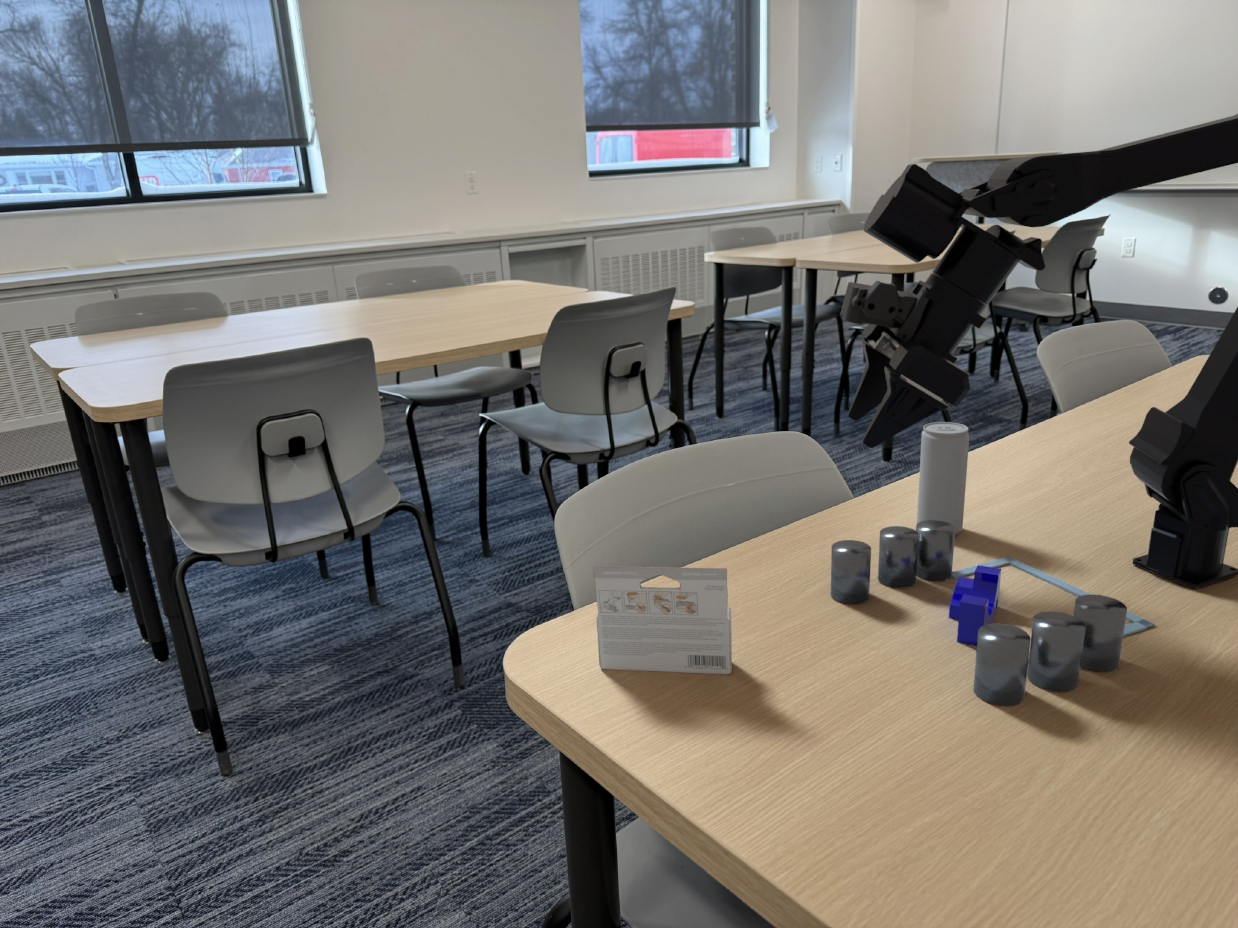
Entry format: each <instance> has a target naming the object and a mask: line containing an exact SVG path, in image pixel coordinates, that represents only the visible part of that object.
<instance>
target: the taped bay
mask: <svg viewBox="0 0 1238 928" xmlns="http://www.w3.org/2000/svg"><path fill="white" fill-rule="evenodd" d="M978 565H981V566H987V567H993V568H999V567H1003V566H1007V565H1011V566H1013V567H1015V568H1017V569H1019V570H1021V571H1022V572H1023V571H1024V572H1026V573H1028V574H1030V575H1032V576H1034V577H1036V578H1039V579H1040V580H1043V581H1044V582H1047V583H1048V584H1051V585H1053V586H1055V587H1056V588H1057V587H1058V588H1059V589H1062V591H1066V592H1068V593H1069V594H1072V595H1074V596H1076V597H1077V598H1078V597H1079V596H1083V595H1092V594H1091V593H1089V592H1087V591H1085V590H1082V589H1081V588H1078V587H1076V586H1074V585H1072V584H1070V583H1067V582H1065V581H1063V580H1061V579H1059V578H1056V577H1055V576H1052V575H1050V574H1048V573H1046V572H1044V571H1042V570H1040V569H1037V568H1035V567H1033V566H1031V565H1028V564H1026V563H1024V562H1022V561H1021V560H1018V559H1016V558H1013V557H1011V556H1007V557H1006V556H1005V557H1002V558H999V559H995V560H991V561H988V562H983V563H980V564H977V565H974V566H973V565H972V566H970V567H965V568H962V569H958V570H954V571H952V575H951V578H953V579H959V577H963V578H964V577H966V576H969V575H974V574H975V570H976V568H977V566H978ZM1126 621H1128V622H1131V623H1128V624H1125V627H1124V634H1123V637H1126V636H1129V635H1132V634H1135V633H1138V632H1141V631H1144V630H1148V629H1150V628H1153V627H1155V623H1154V622H1152V621H1149V620H1148V619H1145V618H1143V617H1141V616H1139V615H1136V614H1134V613H1133V612H1130V611H1128V610H1127V614H1126Z"/></svg>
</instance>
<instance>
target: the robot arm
mask: <svg viewBox="0 0 1238 928" xmlns="http://www.w3.org/2000/svg"><path fill="white" fill-rule="evenodd" d="M1236 164H1238V113H1236V114H1234V115H1231V116H1227V117H1223V118H1220V119H1215V120H1212V121H1208V122H1204V123H1200V124H1196V125H1192V126H1188V127H1185V128H1181V129H1177V130H1173V131H1168V132H1166V133H1165V132H1164V133H1162V134H1158V135H1154V136H1149V137H1146V138H1142V139H1139V140H1135V141H1129V142H1127V143H1122V144H1118V145H1115V146H1112V147H1107V148H1103V149H1100V150H1091V151H1090V150H1089V151H1083V152H1082V151H1081V152H1080V151H1079V152H1070V153H1069V152H1068V153H1066V152H1065V153H1057V154H1056V153H1055V154H1047V155H1045V154H1044V155H1043V154H1042V155H1033V156H1032V155H1031V156H1024V157H1023V156H1021V157H1015V158H1012V159H1008V160H1006V161H1004V162H1002V163H1000V164H999V165H998V166H997V167H996V168H995V170H994V171H993V172H992V174H991V175H990V177H989V178H988V180H987V181H984V182H982V183H979V184H977V185H975V186H972V187H970V188H964V189H963V191H960V192H957V191H955V190H954V189H953V188H950V187H949V186H948V185H945V184H944V183H942V182H941V181H940V180H938V179H936V178H934V177H933V176H932V175H931V174H930V173H929V172H928V170H926V169H924V168H922V167H921V166H919V165H918V164H916V163H911V164H907V166H906V167H905V168H904V170H903V172H902V173H901V175H900V176H898V177H897V178H896V179H895V180H894V182H893V183H892V184H891V186H890V187H889V188H888V189H887V190H886V192H885V193H884V194H881V196H880V197H878V200H877V201H876V203H875V204H874V206H873V207H872V209H871V211H870V213H869V214H868V217H867V219H866V220H865V223H864V225H863V232H865V233H866V234H868V235H869V236H871V237H873V238H875V239H876V240H878V241H880V243H883V244H884V245H886V246H888V247H889V248H891V249H893V250H894V251H895V252H898V253H899V254H901V255H902V256H904V257H905V258H908V259H909V260H910V261H912V262H914V263H915V264H916V263H920V262H922V261H923V260H925V259H926V258H927V257H929V258H931V259H932V260H935V259H938V257H940V256H941V255H942V254H943V252H944V254H943V256H942V257H941V258H940V259H939V261H938V263H937V264H936V266H935V267H934V269H933V270H932V272H931V273H930V274H929V276H928V277H927V278H926V280H925V282H924V281H923V280H918V282H917V281H915V282H913V284H912V285H911V287H910V288H909V290H908V291H907V292H906V291H901V290H898V288H897V285H896V284H894V283H891V282H890V283H886V282H882V281H880V280H875V282H874V283H873V284H872V285H869V284H864V283H858V282H850V281H848V283H847V287H846V290H845V295H844V298H843V303H842V306H841V311H840V316H841V317H843V320H844V321H845V322H848V323H852V324H856V325H863V324H867V325H866V327H865V328H864V329H863V331H862V333H861V335H862V336H863V337H864V338H865V339H866V340H868V341H869V342H868V341H865V340H864V339H862V340H861V346H862V348H863V349H862V350H863V354H864V358H865V367H864V370H863V373H862V374H861V375H862V376H861V378H860V381H859V383H858V387H857V388H856V391H855V394H854V397H853V399H852V402H851V404H850V407H849V409H848V412H847V416H848V418H850V419H852V420H853V421H855V422H858V421H859V420H860V419H862V418H863V417H865V416H866V415H867V414H868V413H870V412H871V411H873V410H874V409H875V408H876V407H878V408H877V409H876V411H875V413H874V415H873V417H872V419H871V421H870V423H869V425H868V428H867V430H866V431H865V433H864V436H863V438H862V440H861V441H862V444H863V445H865V446H867V447H868V448H870V449H874V448H875V447H877V446H879V445H881V444H882V443H884V442H886V441H887V440H889V439H891V438H894V437H895V436H896V435H898V434H900V433H901V432H903V431H905V430H906V429H908V428H911V427H912V426H914V425H915V424H918V423H920V422H921V421H923V420H925V419H927V418H929V417H931V416H933V415H934V414H936V413H938V412H941V411H946V410H948V408H949V407H950V406H949V404H950V405H952V406H953V407H955V408H956V407H957V408H958V406H959V405H960V403H961V402H962V401H963V399H964V398H965V397H966V396H967V394H968V392H969V391H970V390H971V385H970V379H969V374H968V373H967V372H966V371H965V370H963V368H961V367H960V366H958V365H957V364H955V363H956V361H957V360H958V357H957V356H955V355H954V353H955V351H956V350H957V348H958V347H959V345H960V344H961V343H962V341H963V340H964V339H965V337H966V335H967V334H968V333H969V331H970V330H971V328H973V327H975V328H977V329H981V327H982V326H983V324H984V323H985V321H986V320H987V318H986V317H983V316H982V314H983V312H984V311H985V309H986V308H987V307H988V305H989V304H990V303H991V301H992V300H993V299H994V297H995V296H996V294H997V293H998V291H999V290H1000V289H1001V287H1002V286H1003V284H1005V282H1006V280H1007V278H1009V277H1010V275H1011V274H1012V272H1013V271H1014V269H1015V268H1016V267H1017V265H1018V264H1020V265H1021V266H1023V267H1024V268H1029V269H1032V270H1035V271H1039V272H1041V271H1043V270H1045V269H1046V262H1045V259H1044V255H1043V253H1042V252H1043V251H1042V242H1043V240H1042V239H1041V238H1039V237H1035V236H1034V237H1033V236H1030V237H1028V238H1025V239H1022V238H1020V237H1019V236H1017V235H1016V234H1014V233H1012V232H1011V231H1009V230H1008V229H1005V228H1004V227H1003V226H1001V225H999V224H993V225H991V226H990V227H988V228H987V229H986V230H985V229H983V228H982V227H979V226H978V225H976V223H975V224H974V223H973V222H972V221H970V220H968V219H966V218H965V217H963V215H966V216H967V215H968V216H974V217H980V218H986V219H997V220H998V221H1000V222H1001V223H1004V224H1008V225H1014V226H1015V225H1016V226H1022V227H1027V228H1042V227H1043V228H1044V227H1046V226H1049V225H1052V224H1054V223H1056V222H1059V221H1061V220H1064V219H1066V218H1068V217H1071V216H1073V215H1075V214H1077V213H1081V212H1082V211H1085V210H1087V209H1088V208H1090V207H1092V206H1094V205H1096V204H1097V203H1099V202H1100V201H1102V200H1104V199H1107V198H1108V197H1111V196H1114V195H1116V194H1120V193H1123V192H1127V191H1129V190H1134V189H1135V190H1136V189H1139V188H1143V187H1146V186H1150V185H1154V184H1159V183H1162V182H1166V181H1171V180H1174V179H1178V178H1183V177H1188V176H1192V175H1194V174H1199V173H1202V172H1207V171H1211V170H1216V169H1218V168H1222V167H1223V168H1224V167H1227V166H1231V165H1236ZM960 228H961V230H960ZM959 230H960V231H959ZM958 231H959V233H958ZM955 236H956V237H955ZM947 248H948V249H947ZM946 249H947V250H946ZM946 402H947V403H948V404H947V403H946ZM1145 415H1146V416H1145V417H1144V421H1143V423H1142V425H1141V428H1140V429H1139V431H1138V432H1137V433H1136V435H1135V436H1134V437H1132V439H1131V440H1129V441H1128V444H1129V445H1130V446H1132V447H1133V448H1132V450H1131V453H1130V456H1129V465H1130V466H1131V469H1132V472H1133V475H1135V477H1136V478H1137V479H1138V480H1139V481H1140V482H1142V483H1143V484H1144V486H1145V491H1146V495H1147V497H1148V496H1149V498H1153V499H1154V500H1155V501H1157V502H1158V503H1159V505H1158V509H1157V510H1155V512H1154V518H1153V524H1152V528H1151V530H1150V537H1149V544H1148V550H1147V553H1146V554H1144V555H1141V556H1138V557H1134V558H1132V562H1131V564H1133V565H1134V566H1136V567H1140V568H1141V569H1144V570H1146V571H1148V572H1151V573H1154V574H1156V575H1158V576H1161V577H1162V578H1165V579H1168V580H1171V581H1173V582H1175V583H1178V584H1180V585H1183V586H1185V587H1188V588H1190V589H1199V588H1201V587H1205V586H1208V585H1210V584H1215V583H1217V582H1220V581H1223V580H1226V579H1229V578H1233V577H1235V576H1238V568H1236V567H1235V566H1234V567H1233V566H1232V565H1228V564H1226V563H1224V561H1225V560H1224V559H1225V555H1226V548H1227V544H1228V538H1229V532H1230V529H1232V528H1238V487H1237V486H1236V485H1235V484H1234V483H1233V482H1232V481H1231V480H1232V477H1233V475H1234V473H1235V470H1236V467H1237V466H1238V306H1237V307H1236V309H1235V310H1234V312H1233V313H1232V316H1231V317H1230V319H1229V321H1228V322H1227V324H1226V326H1225V328H1224V329H1223V332H1222V333H1221V335H1220V337H1219V338H1218V339H1217V341H1216V344H1215V345H1214V347H1213V349H1212V351H1211V352H1210V353H1209V356H1208V358H1207V359H1206V360H1205V363H1204V364H1203V366H1202V368H1201V370H1200V372H1199V373H1198V374H1197V376H1196V378H1195V380H1194V382H1193V384H1192V385H1191V386H1190V389H1189V390H1188V392H1187V394H1186V395H1185V396H1184V397H1183V398H1182V400H1180V401H1178V403H1176V404H1174V405H1173V406H1172V407H1171V408H1169V409H1168V410H1166V411H1163V410H1162V409H1160V408H1157V407H1156V406H1152V407H1150V409H1149V410H1148V411H1147V413H1146V414H1145Z"/></svg>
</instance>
